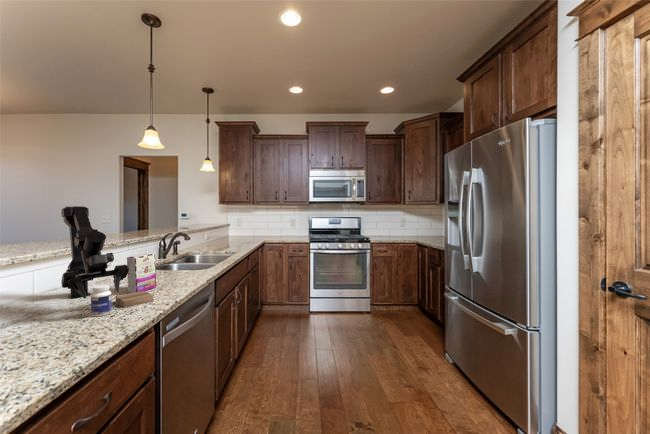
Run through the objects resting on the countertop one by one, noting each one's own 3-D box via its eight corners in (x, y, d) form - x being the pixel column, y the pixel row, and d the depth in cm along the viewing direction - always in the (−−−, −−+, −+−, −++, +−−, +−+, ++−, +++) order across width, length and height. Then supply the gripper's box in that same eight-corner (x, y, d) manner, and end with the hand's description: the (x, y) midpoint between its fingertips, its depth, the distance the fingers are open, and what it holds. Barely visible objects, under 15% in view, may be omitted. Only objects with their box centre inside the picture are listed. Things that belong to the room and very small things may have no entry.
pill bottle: (89, 318, 96) (88, 289, 96) (93, 312, 101) (93, 285, 101) (109, 315, 98) (109, 287, 98) (113, 310, 104) (112, 283, 103)
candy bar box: (147, 286, 135) (147, 253, 135) (156, 287, 134) (155, 253, 134) (126, 293, 124) (126, 256, 124) (136, 294, 123) (135, 257, 123)
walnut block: (115, 302, 112) (115, 296, 112) (143, 296, 120) (143, 290, 120) (124, 307, 106) (123, 301, 106) (153, 301, 114) (153, 295, 114)
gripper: (62, 249, 95) (69, 286, 88) (127, 243, 109) (137, 275, 103) (58, 269, 100) (65, 306, 93) (120, 261, 114) (130, 293, 108)
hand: (102, 294), depth 99 cm, fingers open, 9 cm apart
